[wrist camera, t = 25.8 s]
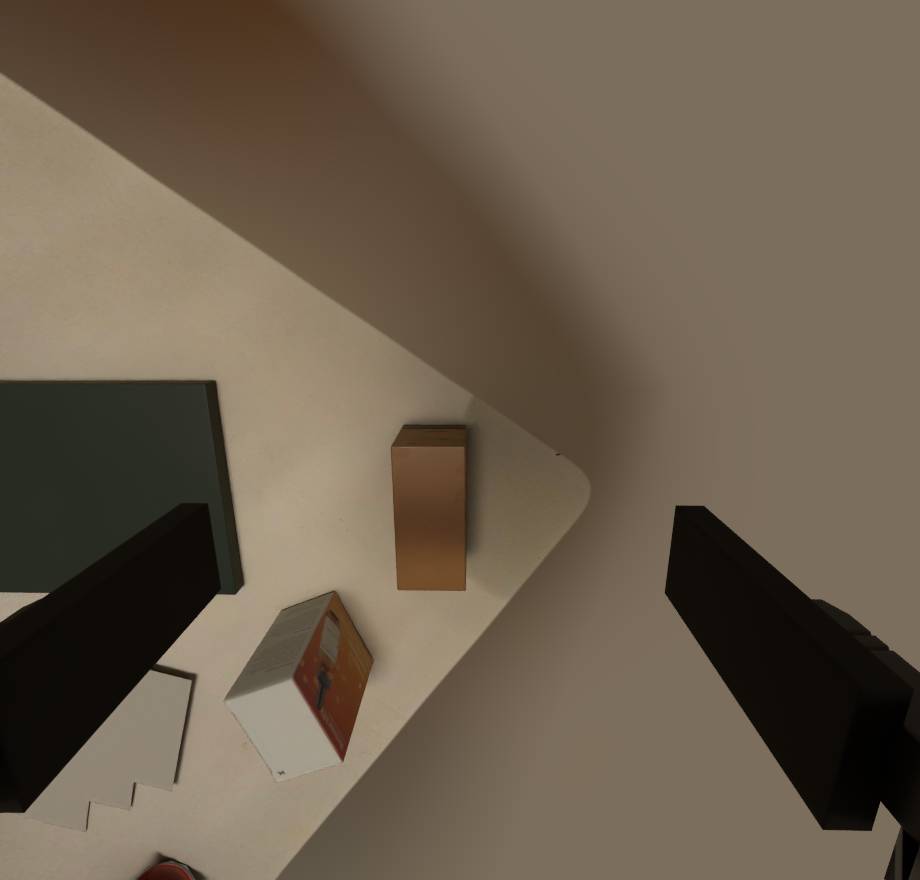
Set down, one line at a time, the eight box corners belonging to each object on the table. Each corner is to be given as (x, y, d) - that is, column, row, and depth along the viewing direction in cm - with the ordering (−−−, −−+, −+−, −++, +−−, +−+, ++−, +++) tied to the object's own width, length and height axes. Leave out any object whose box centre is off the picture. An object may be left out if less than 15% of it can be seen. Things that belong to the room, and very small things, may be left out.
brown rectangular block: (402, 424, 38) (390, 446, 32) (466, 424, 38) (465, 446, 32) (407, 550, 41) (397, 590, 35) (466, 550, 41) (465, 591, 35)
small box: (374, 660, 44) (345, 766, 34) (320, 678, 45) (276, 787, 35) (335, 588, 42) (292, 677, 32) (279, 608, 43) (220, 702, 33)
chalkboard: (-86, 380, 38) (-108, 383, 37) (215, 380, 38) (204, 383, 36) (-24, 582, 43) (-41, 592, 42) (244, 585, 42) (236, 595, 41)
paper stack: (164, 850, 51) (160, 857, 51) (-78, 793, 50) (-85, 799, 49) (195, 675, 45) (191, 680, 44) (-80, 604, 44) (-88, 609, 43)
